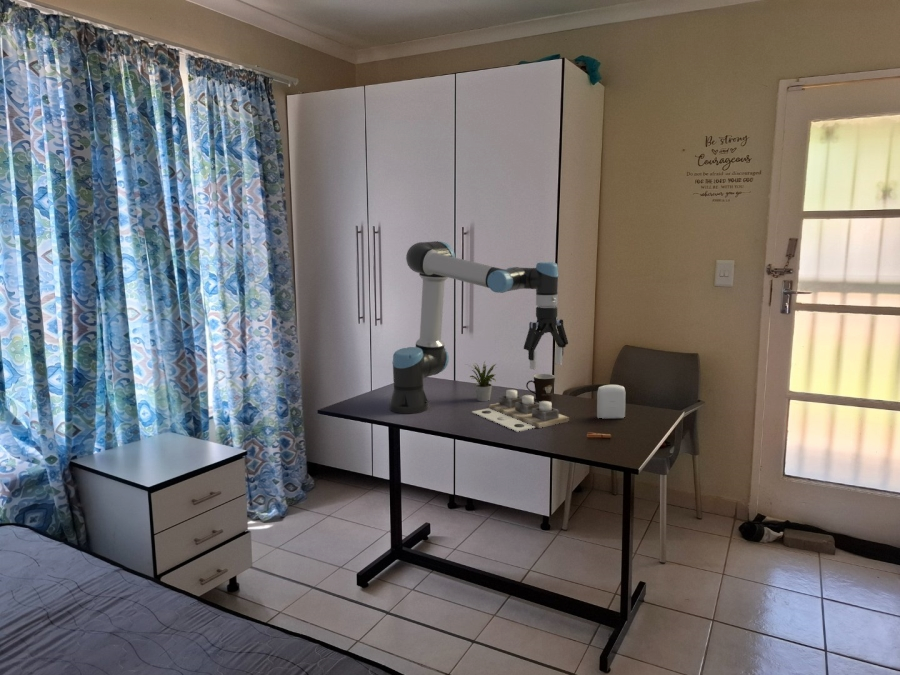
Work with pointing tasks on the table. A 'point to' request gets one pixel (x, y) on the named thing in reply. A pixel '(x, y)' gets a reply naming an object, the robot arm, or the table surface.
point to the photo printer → (611, 401)
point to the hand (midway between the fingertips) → (546, 366)
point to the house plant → (483, 383)
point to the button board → (528, 412)
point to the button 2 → (545, 406)
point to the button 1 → (511, 394)
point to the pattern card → (503, 419)
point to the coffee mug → (543, 386)
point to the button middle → (527, 400)
